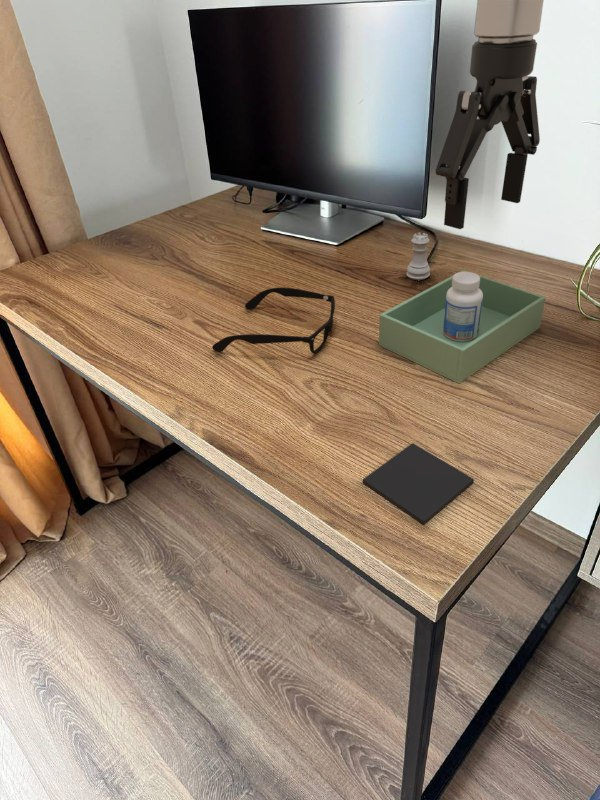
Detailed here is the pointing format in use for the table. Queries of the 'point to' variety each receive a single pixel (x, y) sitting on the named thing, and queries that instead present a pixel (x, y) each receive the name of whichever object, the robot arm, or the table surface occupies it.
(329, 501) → the table surface
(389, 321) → the tote
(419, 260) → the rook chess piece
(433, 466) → the mat
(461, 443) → the table surface
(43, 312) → the table surface
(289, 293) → the glasses
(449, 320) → the pill bottle
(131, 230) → the table surface
